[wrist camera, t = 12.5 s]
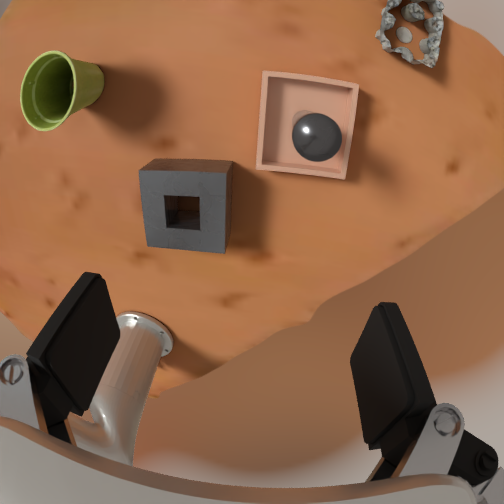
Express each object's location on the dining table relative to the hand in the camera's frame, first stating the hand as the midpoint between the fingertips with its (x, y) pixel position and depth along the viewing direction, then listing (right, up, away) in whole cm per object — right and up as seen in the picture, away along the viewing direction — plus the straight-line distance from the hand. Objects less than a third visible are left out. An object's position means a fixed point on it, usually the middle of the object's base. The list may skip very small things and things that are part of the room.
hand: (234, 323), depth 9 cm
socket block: (-7, +10, +27) cm, 29 cm away
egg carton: (+19, +29, +12) cm, 37 cm away
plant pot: (-21, +24, +19) cm, 37 cm away
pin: (+7, +17, +20) cm, 27 cm away
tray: (+7, +17, +21) cm, 28 cm away
